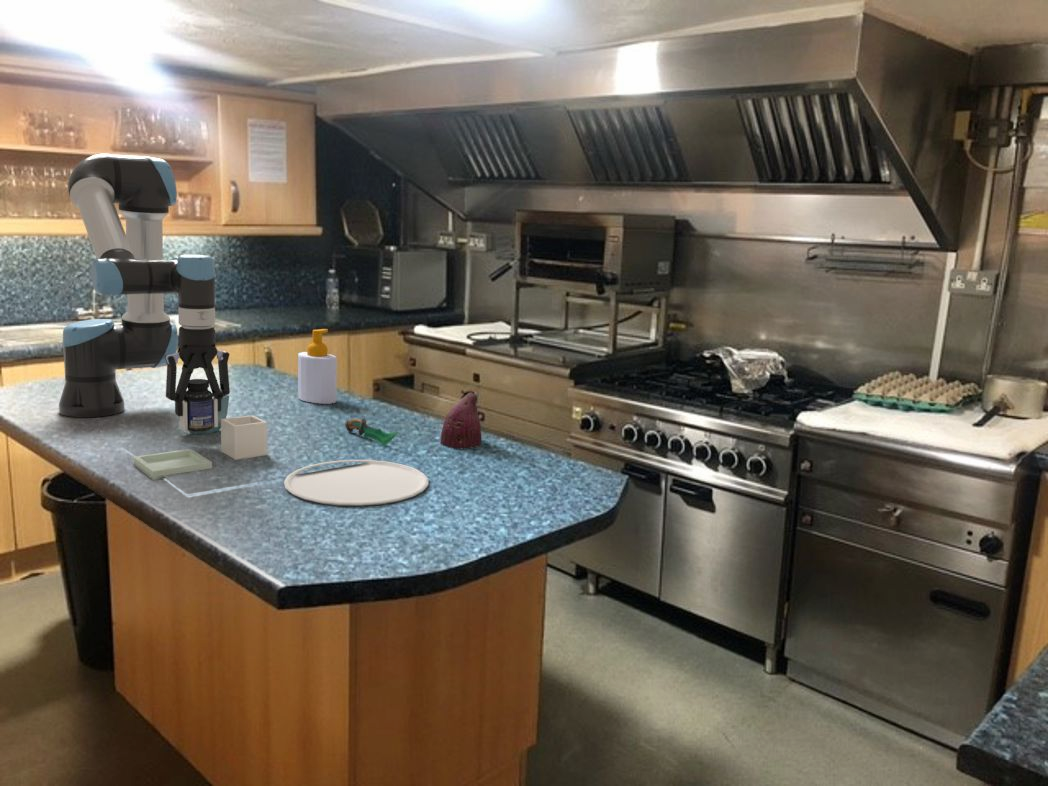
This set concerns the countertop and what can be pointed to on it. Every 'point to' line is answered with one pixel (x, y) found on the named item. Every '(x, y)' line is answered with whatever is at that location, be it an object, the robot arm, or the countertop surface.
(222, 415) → the flower pot
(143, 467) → the tray
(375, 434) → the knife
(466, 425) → the vegetable
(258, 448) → the open cream box
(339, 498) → the plate
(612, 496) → the countertop surface
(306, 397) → the soap bottle
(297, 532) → the countertop surface
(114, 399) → the robot arm
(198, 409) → the pill bottle
